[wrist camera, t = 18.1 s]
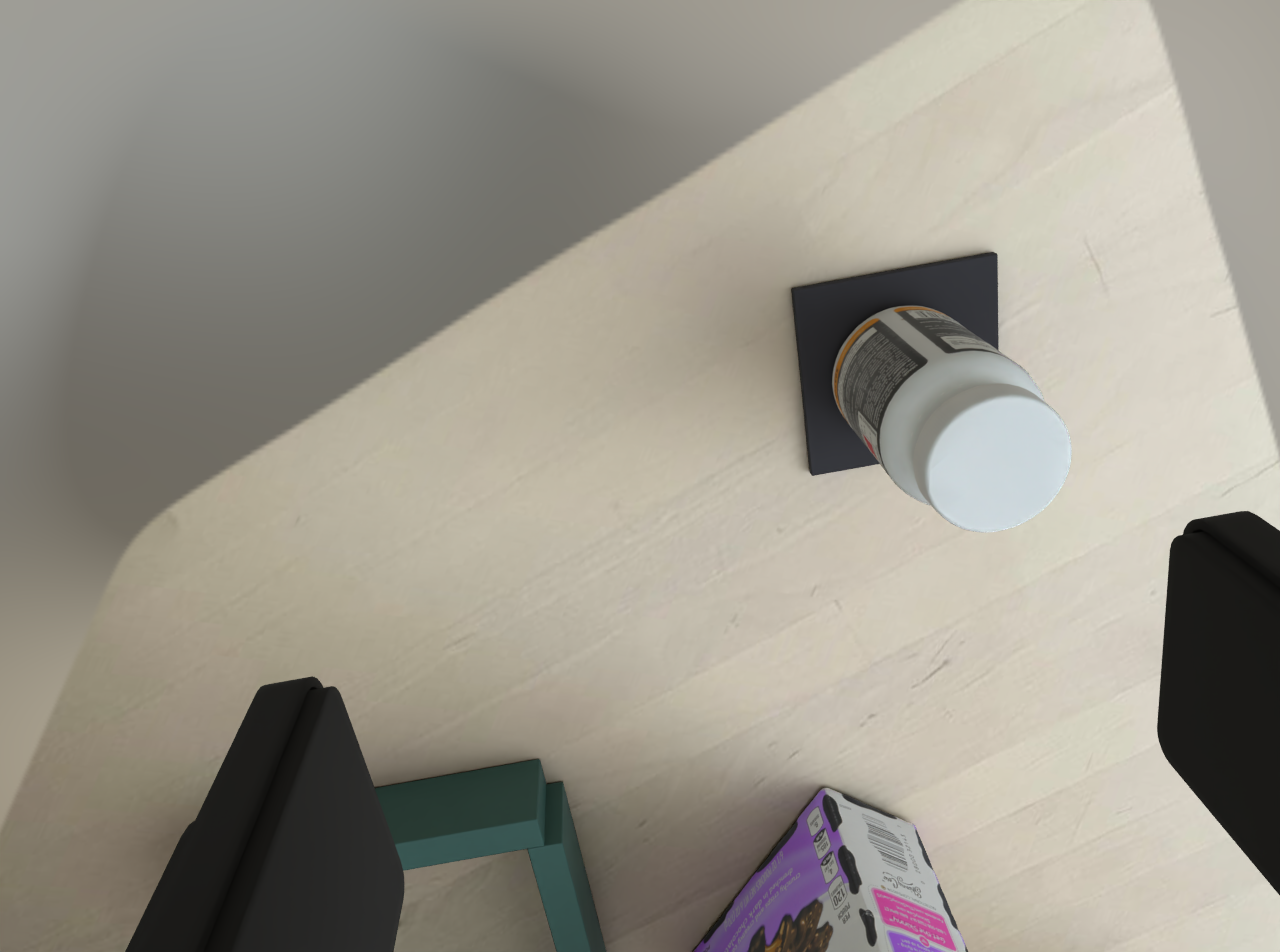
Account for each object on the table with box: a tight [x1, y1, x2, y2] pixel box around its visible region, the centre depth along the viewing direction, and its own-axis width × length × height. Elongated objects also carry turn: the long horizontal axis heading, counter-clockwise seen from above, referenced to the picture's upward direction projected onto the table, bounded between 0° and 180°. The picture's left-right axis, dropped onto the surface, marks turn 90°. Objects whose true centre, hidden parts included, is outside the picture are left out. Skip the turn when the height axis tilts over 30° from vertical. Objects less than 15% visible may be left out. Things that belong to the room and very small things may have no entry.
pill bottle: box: [832, 306, 1071, 532], centre depth 35 cm, size 6×6×10 cm
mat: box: [791, 252, 998, 476], centre depth 39 cm, size 8×8×1 cm
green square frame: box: [375, 759, 606, 952], centre depth 48 cm, size 17×17×4 cm
